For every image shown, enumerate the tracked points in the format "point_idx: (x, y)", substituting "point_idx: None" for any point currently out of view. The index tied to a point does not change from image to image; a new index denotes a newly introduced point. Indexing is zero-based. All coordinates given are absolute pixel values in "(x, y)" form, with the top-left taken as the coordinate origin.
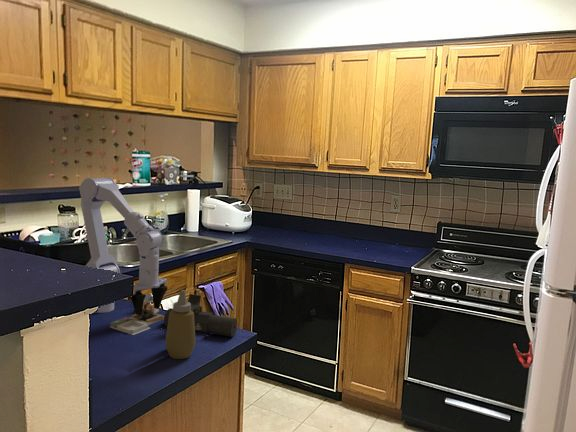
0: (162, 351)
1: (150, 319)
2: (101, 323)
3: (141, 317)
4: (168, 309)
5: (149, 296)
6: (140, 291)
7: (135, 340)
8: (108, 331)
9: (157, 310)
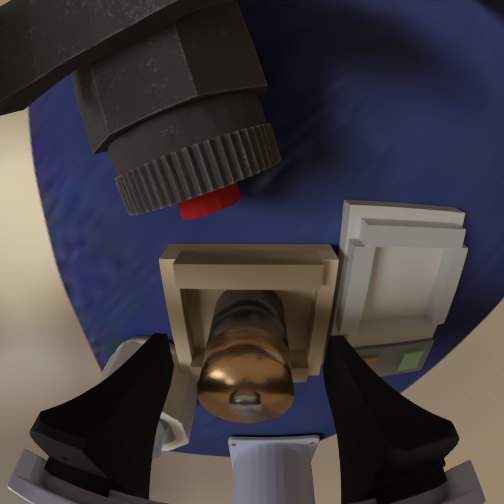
0: (469, 12)
1: (293, 275)
2: None
3: None
4: (201, 186)
5: None
6: (390, 496)
7: (466, 181)
8: None
9: (130, 350)
